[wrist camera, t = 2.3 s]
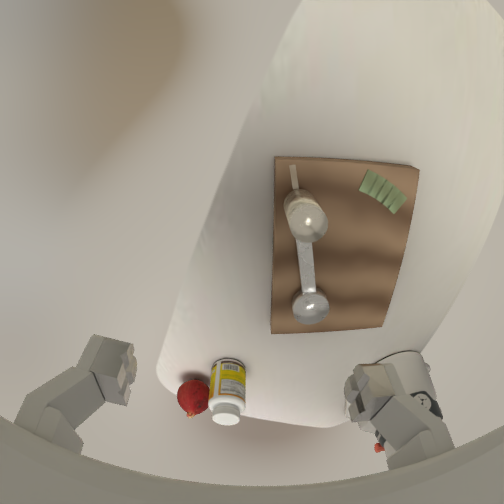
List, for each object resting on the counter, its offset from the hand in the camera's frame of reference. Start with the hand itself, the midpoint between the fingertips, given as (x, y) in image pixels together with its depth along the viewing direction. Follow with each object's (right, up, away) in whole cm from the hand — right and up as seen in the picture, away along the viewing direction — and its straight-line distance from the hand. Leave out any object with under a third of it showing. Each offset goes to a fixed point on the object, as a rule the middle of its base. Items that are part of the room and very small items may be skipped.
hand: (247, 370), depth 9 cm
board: (+11, +4, +25) cm, 28 cm away
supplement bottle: (-4, -15, +35) cm, 39 cm away
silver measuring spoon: (+6, +3, +22) cm, 23 cm away
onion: (-10, -18, +37) cm, 43 cm away
